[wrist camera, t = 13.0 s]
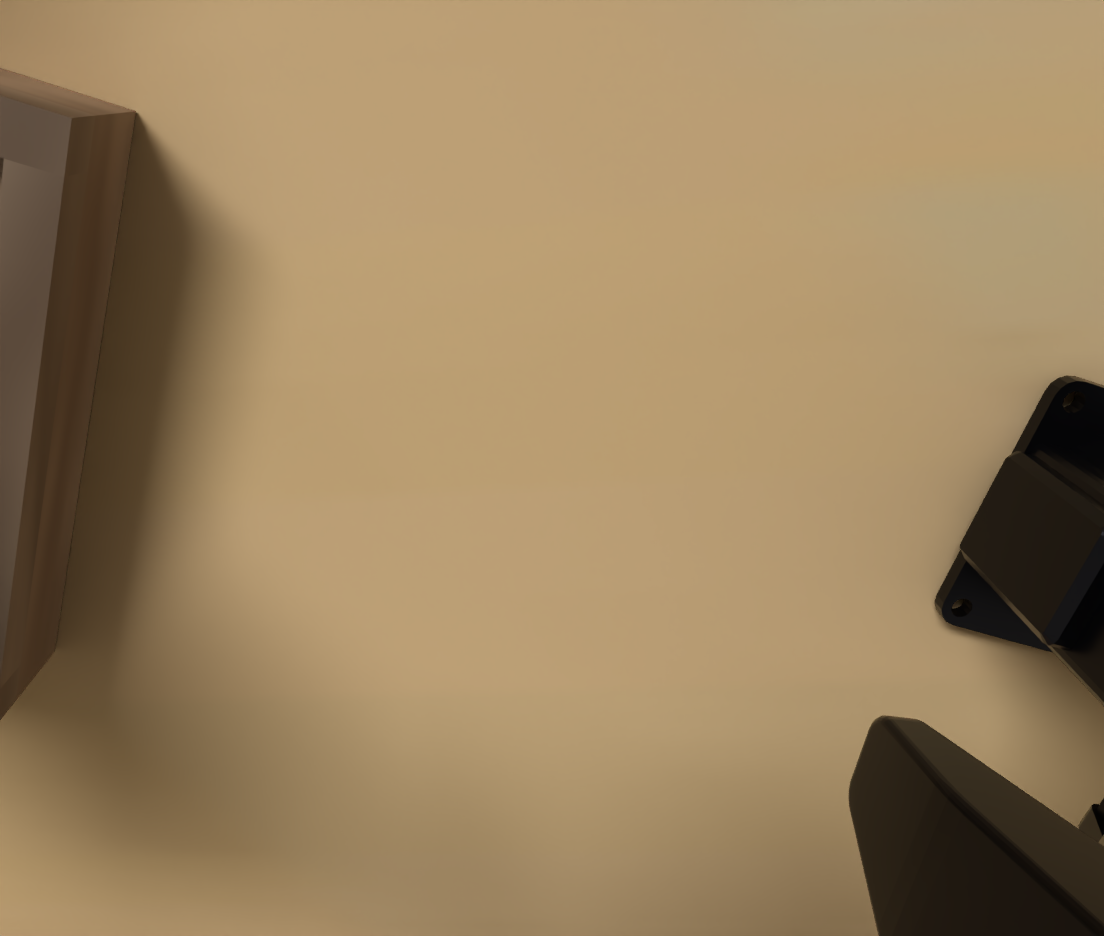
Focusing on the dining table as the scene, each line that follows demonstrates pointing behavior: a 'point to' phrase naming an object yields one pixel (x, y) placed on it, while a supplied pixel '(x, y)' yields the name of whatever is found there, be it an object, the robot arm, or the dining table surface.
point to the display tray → (49, 341)
